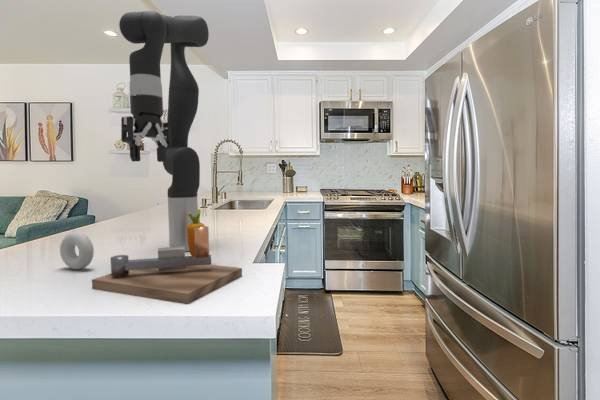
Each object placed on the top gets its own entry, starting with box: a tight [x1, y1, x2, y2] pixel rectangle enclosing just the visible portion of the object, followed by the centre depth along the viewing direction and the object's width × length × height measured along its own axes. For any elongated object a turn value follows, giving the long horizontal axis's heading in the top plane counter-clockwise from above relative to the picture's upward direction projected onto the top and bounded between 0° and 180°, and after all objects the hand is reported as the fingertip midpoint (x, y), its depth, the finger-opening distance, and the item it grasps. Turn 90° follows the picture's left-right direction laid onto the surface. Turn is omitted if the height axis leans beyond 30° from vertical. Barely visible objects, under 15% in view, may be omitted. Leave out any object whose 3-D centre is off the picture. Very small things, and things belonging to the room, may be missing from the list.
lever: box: [110, 225, 212, 277], centre depth 85 cm, size 4×22×10 cm, turn 105°
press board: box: [91, 246, 243, 304], centre depth 85 cm, size 20×26×7 cm
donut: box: [59, 231, 95, 271], centre depth 97 cm, size 10×4×10 cm, turn 71°
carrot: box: [187, 208, 206, 256], centre depth 102 cm, size 5×5×15 cm
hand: (149, 161), depth 93 cm, fingers open, 8 cm apart
